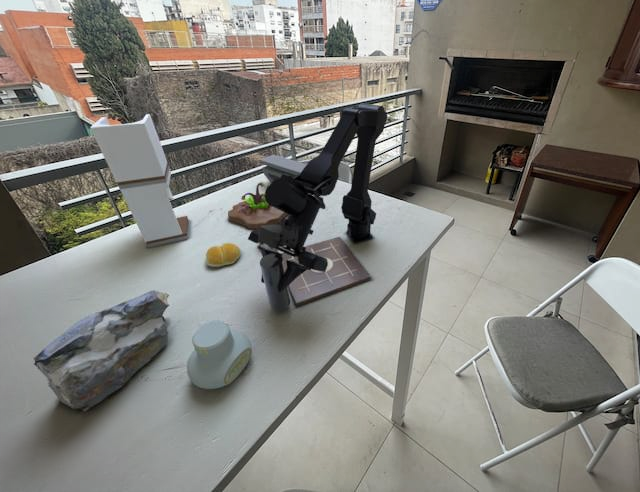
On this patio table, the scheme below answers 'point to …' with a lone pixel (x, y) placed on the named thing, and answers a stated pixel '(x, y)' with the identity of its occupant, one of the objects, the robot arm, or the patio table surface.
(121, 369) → the fossil rock
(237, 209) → the plant
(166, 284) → the patio table surface
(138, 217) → the white box tower
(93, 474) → the patio table surface
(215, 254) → the bread roll
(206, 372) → the air freshener
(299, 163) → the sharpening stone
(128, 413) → the patio table surface
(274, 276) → the dark gray cylindrical container
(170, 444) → the patio table surface
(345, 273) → the grid board
